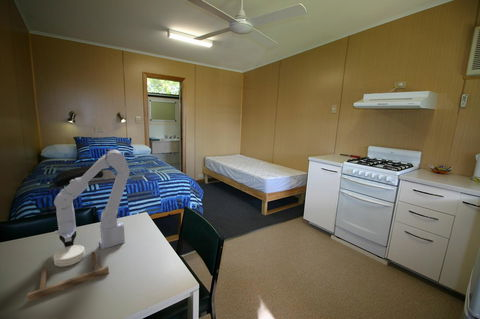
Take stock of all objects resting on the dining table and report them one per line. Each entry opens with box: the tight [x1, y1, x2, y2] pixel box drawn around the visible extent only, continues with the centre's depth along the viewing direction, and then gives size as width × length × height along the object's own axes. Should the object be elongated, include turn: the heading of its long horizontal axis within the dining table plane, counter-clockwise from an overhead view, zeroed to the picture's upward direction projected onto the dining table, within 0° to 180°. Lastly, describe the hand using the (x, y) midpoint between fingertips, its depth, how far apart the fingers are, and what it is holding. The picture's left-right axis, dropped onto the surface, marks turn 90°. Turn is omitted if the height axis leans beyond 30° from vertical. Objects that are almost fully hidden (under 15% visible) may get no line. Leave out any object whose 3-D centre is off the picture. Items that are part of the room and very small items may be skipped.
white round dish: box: [53, 244, 86, 268], centre depth 88 cm, size 10×10×4 cm
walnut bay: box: [26, 251, 110, 303], centre depth 79 cm, size 22×14×2 cm, turn 130°
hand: (69, 248), depth 92 cm, fingers closed
